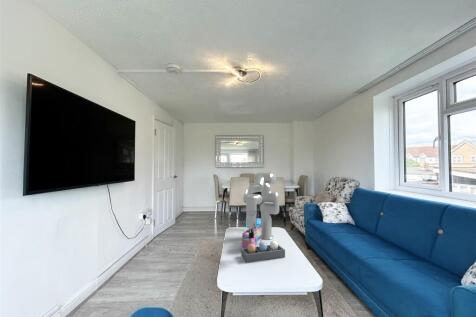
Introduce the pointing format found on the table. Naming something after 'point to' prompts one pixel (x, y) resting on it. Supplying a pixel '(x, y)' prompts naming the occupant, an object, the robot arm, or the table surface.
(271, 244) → the white rounded piece
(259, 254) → the gray compartment tray
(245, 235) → the gum box
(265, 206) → the robot arm
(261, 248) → the pale blue rounded piece
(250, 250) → the peach rounded egg shape
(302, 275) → the table surface
